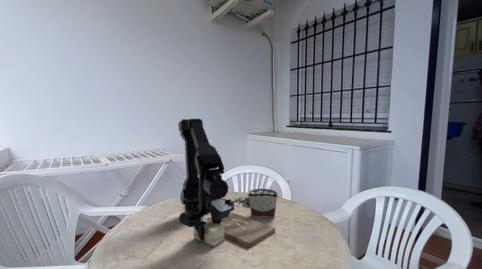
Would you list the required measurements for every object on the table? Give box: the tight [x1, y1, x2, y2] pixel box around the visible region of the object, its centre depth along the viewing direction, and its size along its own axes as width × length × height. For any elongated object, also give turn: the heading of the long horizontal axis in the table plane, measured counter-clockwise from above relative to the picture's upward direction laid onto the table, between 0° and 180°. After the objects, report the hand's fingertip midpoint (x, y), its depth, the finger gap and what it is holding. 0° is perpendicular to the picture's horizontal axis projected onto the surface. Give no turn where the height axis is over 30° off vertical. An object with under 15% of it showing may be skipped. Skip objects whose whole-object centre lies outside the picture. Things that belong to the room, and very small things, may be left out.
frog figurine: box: [233, 196, 250, 208], centre depth 113 cm, size 12×12×4 cm
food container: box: [247, 188, 279, 218], centre depth 99 cm, size 12×6×10 cm, turn 84°
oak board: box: [205, 211, 276, 249], centre depth 87 cm, size 24×14×2 cm, turn 48°
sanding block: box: [193, 218, 226, 248], centre depth 78 cm, size 9×5×5 cm, turn 54°
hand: (209, 237), depth 78 cm, fingers closed on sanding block, 5 cm apart
